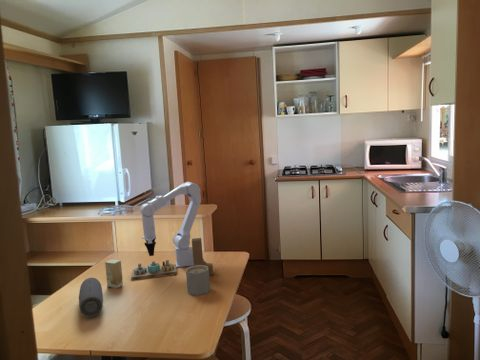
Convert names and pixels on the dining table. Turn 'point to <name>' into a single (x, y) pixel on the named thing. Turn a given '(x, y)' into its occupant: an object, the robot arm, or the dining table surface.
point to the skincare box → (114, 273)
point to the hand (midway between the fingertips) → (151, 253)
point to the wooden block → (200, 255)
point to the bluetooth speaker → (90, 297)
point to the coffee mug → (198, 280)
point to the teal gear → (153, 268)
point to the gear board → (164, 271)
